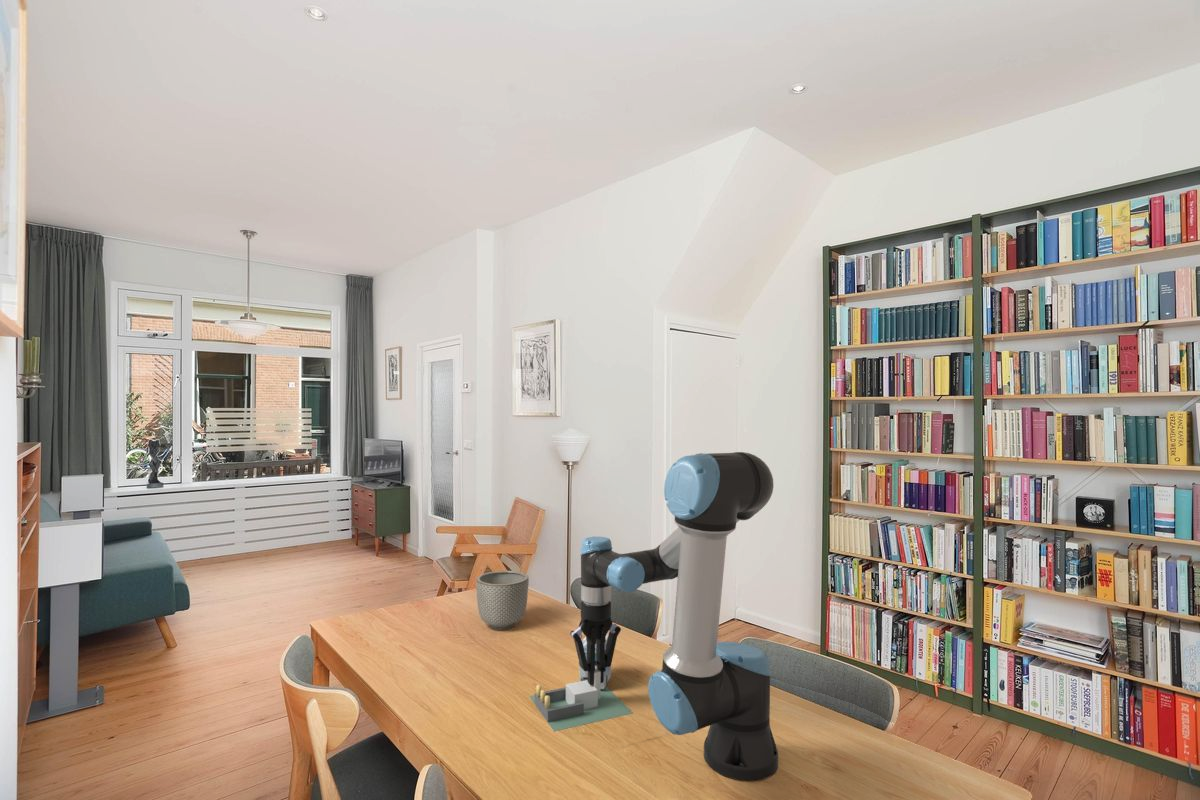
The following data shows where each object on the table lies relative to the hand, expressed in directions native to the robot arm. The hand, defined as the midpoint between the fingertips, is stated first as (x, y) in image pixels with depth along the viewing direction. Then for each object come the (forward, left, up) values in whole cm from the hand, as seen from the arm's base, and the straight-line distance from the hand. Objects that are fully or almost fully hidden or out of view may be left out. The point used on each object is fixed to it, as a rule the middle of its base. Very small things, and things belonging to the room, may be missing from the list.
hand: (595, 696), depth 151 cm
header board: (0, +4, -2) cm, 5 cm away
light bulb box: (+9, -4, -1) cm, 10 cm away
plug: (0, +4, -1) cm, 4 cm away
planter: (+61, +7, -2) cm, 61 cm away
